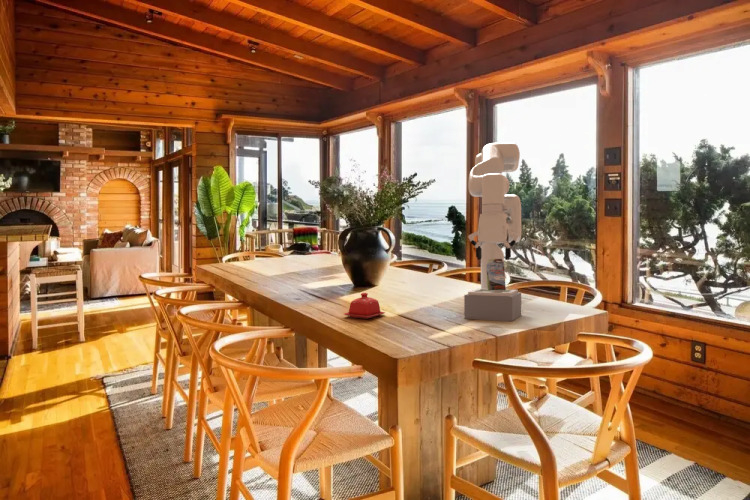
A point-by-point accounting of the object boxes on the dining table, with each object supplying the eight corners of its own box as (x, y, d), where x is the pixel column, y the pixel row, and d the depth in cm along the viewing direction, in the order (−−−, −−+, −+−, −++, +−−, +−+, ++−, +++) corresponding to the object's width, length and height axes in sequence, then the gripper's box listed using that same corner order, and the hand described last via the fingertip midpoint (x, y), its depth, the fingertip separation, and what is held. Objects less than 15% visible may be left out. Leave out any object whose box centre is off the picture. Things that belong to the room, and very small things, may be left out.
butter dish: (368, 319, 186) (368, 294, 186) (341, 317, 193) (341, 293, 193) (387, 315, 196) (386, 292, 196) (360, 313, 202) (360, 290, 202)
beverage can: (493, 294, 185) (492, 258, 184) (482, 292, 192) (482, 258, 192) (509, 293, 186) (509, 258, 186) (498, 291, 193) (498, 257, 193)
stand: (476, 312, 200) (476, 288, 200) (521, 315, 193) (521, 289, 193) (464, 318, 185) (464, 292, 185) (512, 321, 179) (512, 293, 178)
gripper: (520, 209, 188) (520, 259, 189) (471, 210, 196) (471, 258, 196) (516, 208, 182) (516, 260, 182) (465, 210, 189) (465, 259, 190)
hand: (493, 259), depth 189 cm, fingers open, 9 cm apart
